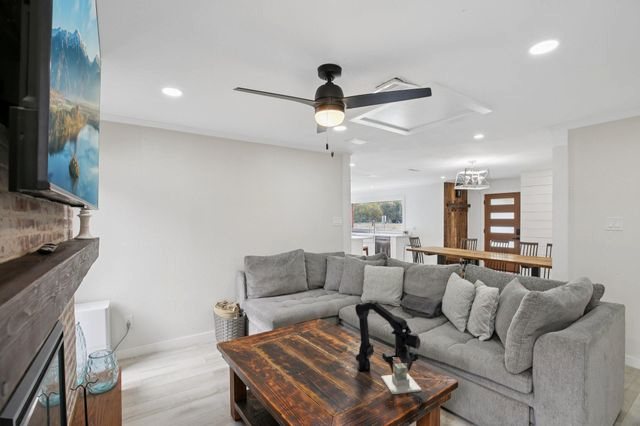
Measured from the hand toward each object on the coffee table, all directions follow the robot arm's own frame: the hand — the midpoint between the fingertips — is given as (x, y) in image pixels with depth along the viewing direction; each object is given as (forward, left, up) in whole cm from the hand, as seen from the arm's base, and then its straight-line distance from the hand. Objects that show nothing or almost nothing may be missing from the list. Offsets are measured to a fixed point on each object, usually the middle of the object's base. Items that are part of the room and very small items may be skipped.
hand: (400, 371), depth 171 cm
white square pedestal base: (0, 0, -7) cm, 7 cm away
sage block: (0, 0, -3) cm, 3 cm away
